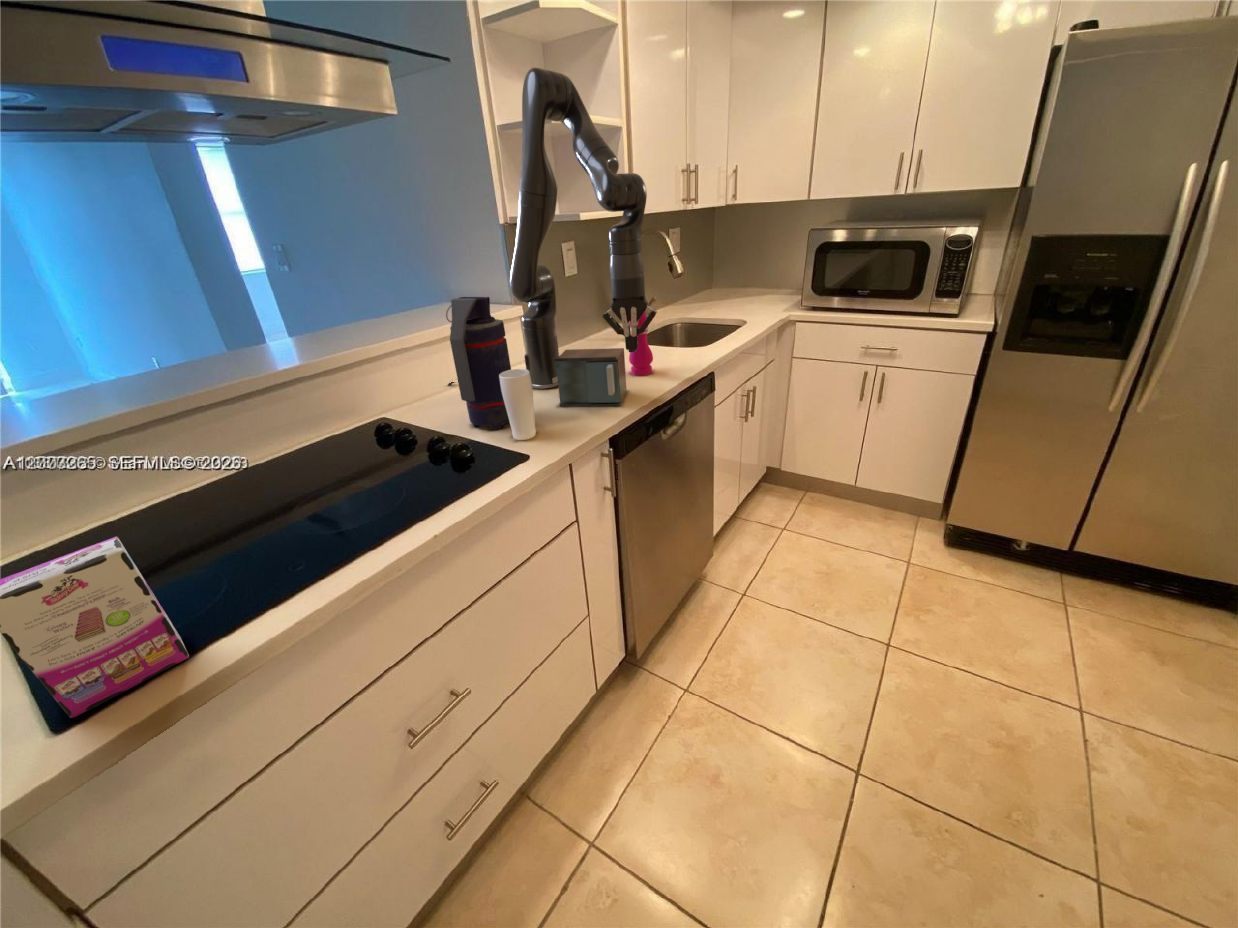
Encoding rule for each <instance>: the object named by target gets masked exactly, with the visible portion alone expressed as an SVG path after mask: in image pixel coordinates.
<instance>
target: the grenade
mask: <svg viewBox="0 0 1238 928" xmlns="http://www.w3.org/2000/svg"><path fill="white" fill-rule="evenodd" d="M490 300H491V299H490V296H460V297H457V298H453V299H451V302H450V303H451V304H450V305H449V306H448V307H447V309H446V312H445V318H446V320H447V321H448V322H449V323H451V324H450V335H449V342H450V348H451V352H452V359H453V363H454V367H455V374H456V378H457V379H456V380H458V382H457V383H458V388H459V394H460V398H461V400H462V401H465V404H466V409H467V413H468V418H469V422H470V424H472V426H473V427H477V426H478V427H491V429H492V430H501V429H502V428H503V426H504V425H506V424H510V422H509V418H508V415H507V411H506V407H505V404H504V400H503V396H502V392H501V387H500V380H499V374H500V373H502V372H504V371H507V370H512V365H511V361H510V354H509V349H508V348H509V347H508V342H507V341H508V340H507V338H506V329H505V323H504V321H503V320H501V319H497V318H495V317H494V316H492V315H491V302H490ZM450 308H451V320H450V319H449V317H448V313H449V310H450Z"/></svg>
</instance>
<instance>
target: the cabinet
mask: <svg viewBox="0 0 1238 928" xmlns="http://www.w3.org/2000/svg"><path fill="white" fill-rule="evenodd" d="M554 362H555V364H556V372H557V380H558V386H557V388H558V394H559V402H560V403H559V404H558V406H559V407H560V408H561V407H620V406H621V404H622V402H623V400H624V398H625V396H626V393H627V392H628V390H627V373H626V361H625V348H624V347H617V348H613V347H612V348H609V347H608V348H580V349H579V348H577V349H574V348H573V349H572V348H571V349H565V350H564V351H563V352H562V353H561V354H559V357H558V358H554ZM589 362H617V368H618V382H619V396H620V402H597V403H589V397H588V387H587V377H586V367H585V363H589Z"/></svg>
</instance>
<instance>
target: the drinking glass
mask: <svg viewBox="0 0 1238 928" xmlns="http://www.w3.org/2000/svg"><path fill="white" fill-rule="evenodd" d="M499 380H500V387H501V392H502V396H503V400H504V404H505V407H506V411H507V415H508V418H509V426H510V430H511V435H512V437H513V439H514V440H516V441H526V440H530V439H533V438H534V437H536V434H537V429H536V420H535V407H534V391H533V390H534V389H533V387H532V382H531V377H530V372H529V371H528V370H526V368H511V370H507V371H504V372H502V373H500V374H499Z"/></svg>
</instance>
